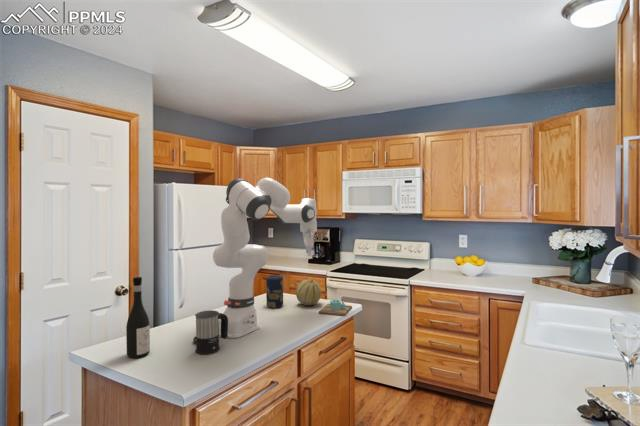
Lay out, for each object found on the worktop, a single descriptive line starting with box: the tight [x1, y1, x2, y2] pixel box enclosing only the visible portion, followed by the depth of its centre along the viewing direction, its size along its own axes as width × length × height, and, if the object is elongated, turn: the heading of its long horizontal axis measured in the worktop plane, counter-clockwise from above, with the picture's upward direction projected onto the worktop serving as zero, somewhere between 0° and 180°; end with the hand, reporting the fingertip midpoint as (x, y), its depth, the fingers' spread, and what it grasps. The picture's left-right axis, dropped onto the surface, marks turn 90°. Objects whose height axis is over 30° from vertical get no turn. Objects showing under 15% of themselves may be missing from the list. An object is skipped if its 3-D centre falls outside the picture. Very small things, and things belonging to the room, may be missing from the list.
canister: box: [265, 274, 284, 309], centre depth 210 cm, size 10×10×18 cm
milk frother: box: [192, 310, 228, 356], centre depth 151 cm, size 14×16×15 cm
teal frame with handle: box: [329, 299, 346, 310], centre depth 201 cm, size 8×5×4 cm
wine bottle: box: [125, 276, 151, 359], centre depth 143 cm, size 8×8×30 cm
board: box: [318, 301, 353, 317], centre depth 201 cm, size 16×14×5 cm
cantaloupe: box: [295, 278, 322, 307], centre depth 213 cm, size 15×15×15 cm
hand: (308, 254), depth 198 cm, fingers open, 8 cm apart
